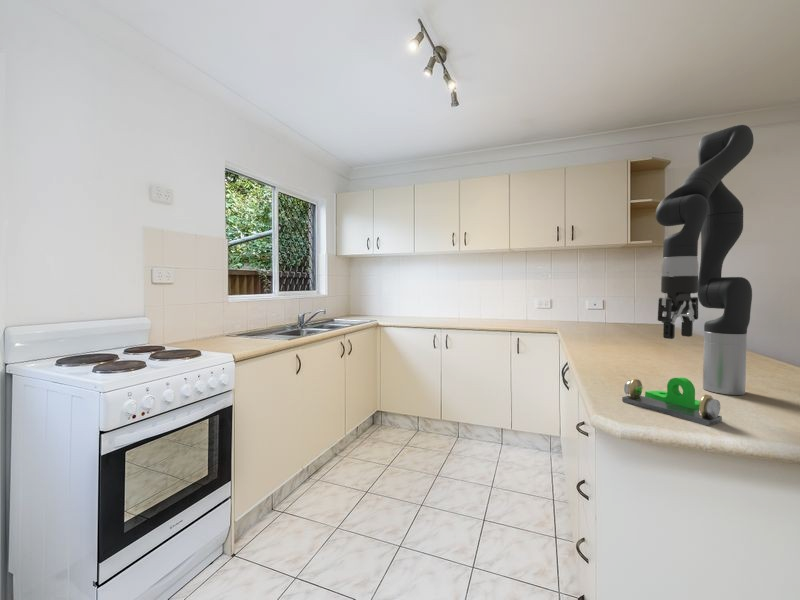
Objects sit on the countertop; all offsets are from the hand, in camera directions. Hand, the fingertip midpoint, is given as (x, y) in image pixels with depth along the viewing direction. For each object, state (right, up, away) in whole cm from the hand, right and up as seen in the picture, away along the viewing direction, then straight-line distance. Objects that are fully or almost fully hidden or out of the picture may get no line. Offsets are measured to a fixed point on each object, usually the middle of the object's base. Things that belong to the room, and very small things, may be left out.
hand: (677, 337), depth 93 cm
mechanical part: (-1, -18, 0) cm, 18 cm away
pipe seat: (-6, -18, -5) cm, 19 cm away
